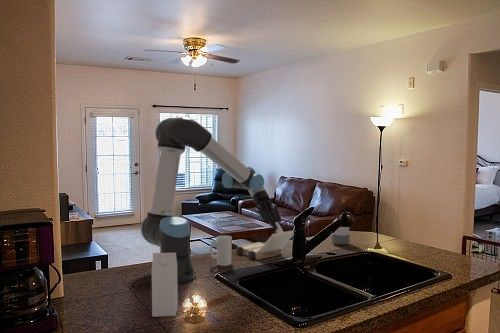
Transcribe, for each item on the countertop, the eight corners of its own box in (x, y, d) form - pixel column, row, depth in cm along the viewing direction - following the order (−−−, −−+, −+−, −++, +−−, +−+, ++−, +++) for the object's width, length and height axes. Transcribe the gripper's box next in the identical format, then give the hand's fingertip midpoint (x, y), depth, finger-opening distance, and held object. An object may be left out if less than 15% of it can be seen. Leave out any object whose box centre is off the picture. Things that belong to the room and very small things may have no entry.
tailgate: (257, 251, 187) (272, 234, 178) (279, 247, 195) (295, 230, 186) (258, 253, 187) (273, 236, 178) (281, 249, 195) (296, 232, 186)
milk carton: (155, 307, 132) (154, 250, 131) (177, 307, 133) (177, 249, 132) (152, 317, 125) (151, 256, 124) (175, 316, 126) (174, 255, 125)
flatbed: (234, 252, 199) (234, 245, 199) (262, 247, 209) (262, 240, 209) (254, 260, 186) (254, 252, 186) (282, 254, 197) (282, 246, 196)
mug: (229, 261, 185) (228, 234, 184) (234, 265, 179) (233, 238, 178) (207, 263, 181) (207, 236, 181) (211, 267, 175) (211, 240, 174)
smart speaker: (328, 242, 220) (328, 216, 219) (344, 241, 222) (344, 216, 221) (336, 246, 211) (336, 220, 210) (352, 245, 213) (353, 219, 212)
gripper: (265, 198, 203) (288, 237, 191) (244, 200, 195) (266, 241, 183) (272, 188, 199) (296, 228, 187) (251, 190, 191) (274, 232, 179)
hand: (281, 235), depth 185 cm, fingers closed
